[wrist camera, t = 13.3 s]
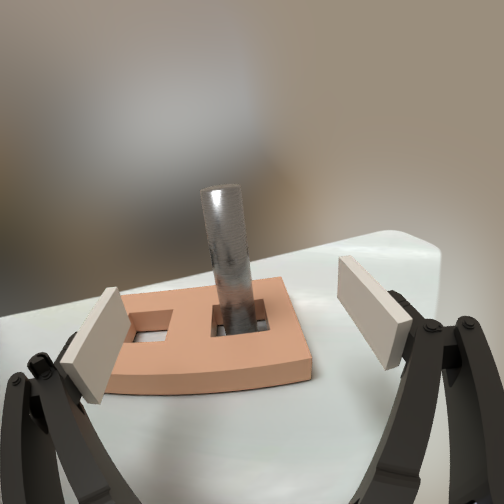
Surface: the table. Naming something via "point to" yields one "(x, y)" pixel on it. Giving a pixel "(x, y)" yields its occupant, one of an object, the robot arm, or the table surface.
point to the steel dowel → (230, 257)
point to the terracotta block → (209, 344)
